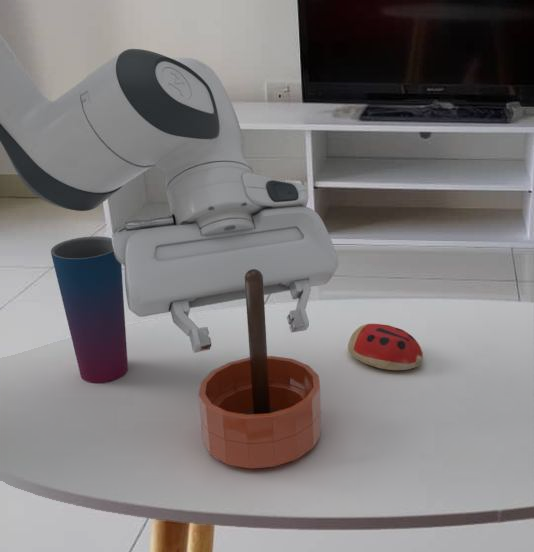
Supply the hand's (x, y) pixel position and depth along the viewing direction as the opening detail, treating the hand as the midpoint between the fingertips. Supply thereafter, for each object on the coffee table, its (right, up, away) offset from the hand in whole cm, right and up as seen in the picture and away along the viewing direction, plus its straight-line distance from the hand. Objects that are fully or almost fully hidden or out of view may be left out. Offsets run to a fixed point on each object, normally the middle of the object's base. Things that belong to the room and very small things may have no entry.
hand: (253, 339), depth 70 cm
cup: (-20, -5, +14) cm, 25 cm away
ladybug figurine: (+12, -4, +19) cm, 23 cm away
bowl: (0, -10, +3) cm, 11 cm away
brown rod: (0, -9, +3) cm, 10 cm away
